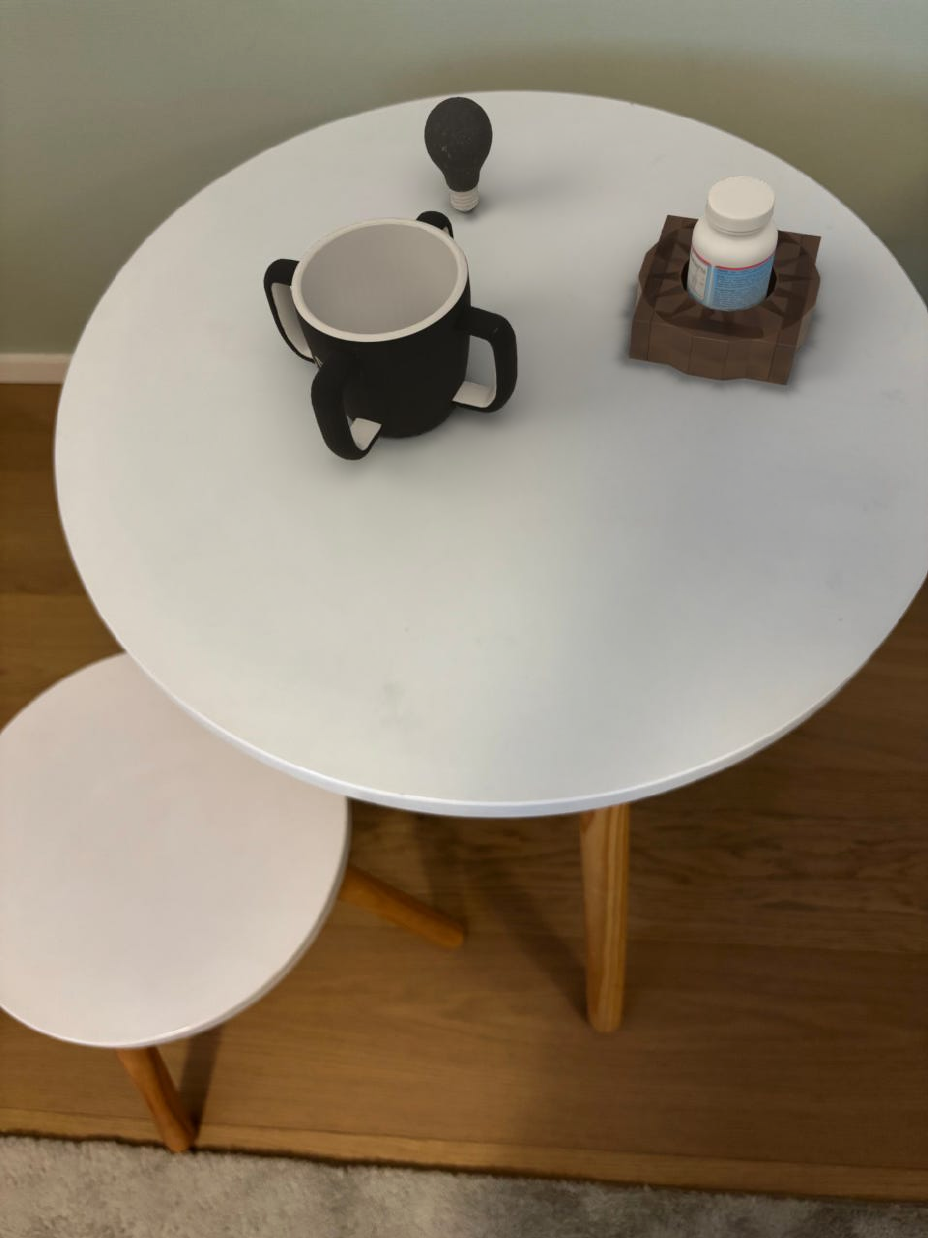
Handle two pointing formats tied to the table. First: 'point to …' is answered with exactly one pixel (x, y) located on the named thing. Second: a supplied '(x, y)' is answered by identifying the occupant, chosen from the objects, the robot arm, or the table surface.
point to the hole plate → (723, 312)
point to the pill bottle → (733, 245)
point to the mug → (388, 330)
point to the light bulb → (459, 147)
